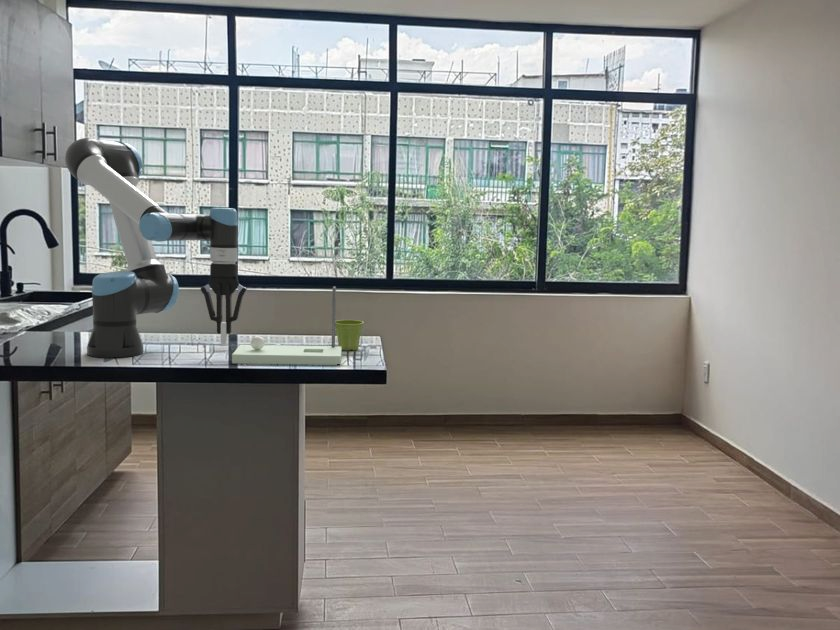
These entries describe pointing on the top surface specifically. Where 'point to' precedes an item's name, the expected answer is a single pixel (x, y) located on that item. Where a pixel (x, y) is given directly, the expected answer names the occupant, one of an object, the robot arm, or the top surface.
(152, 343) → the top surface
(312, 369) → the top surface
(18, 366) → the top surface
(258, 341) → the ball
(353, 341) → the plant pot
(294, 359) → the green
